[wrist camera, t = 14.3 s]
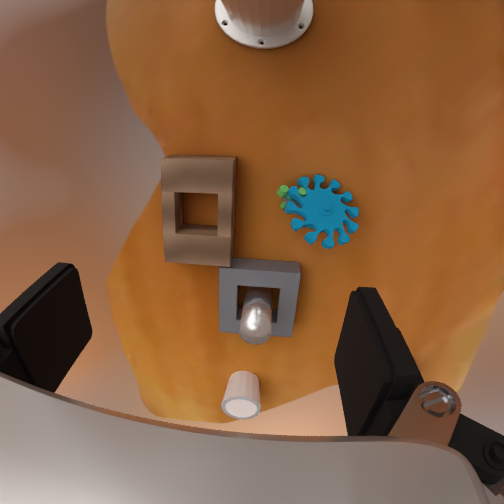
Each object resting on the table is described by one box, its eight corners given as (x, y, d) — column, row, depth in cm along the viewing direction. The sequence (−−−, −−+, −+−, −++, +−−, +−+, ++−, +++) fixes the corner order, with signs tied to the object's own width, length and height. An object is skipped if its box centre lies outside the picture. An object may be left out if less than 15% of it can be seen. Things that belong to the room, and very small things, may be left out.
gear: (370, 198, 40) (347, 260, 36) (350, 217, 45) (327, 273, 41) (299, 154, 39) (265, 211, 36) (286, 178, 45) (254, 231, 41)
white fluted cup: (269, 385, 56) (268, 413, 50) (239, 396, 58) (236, 423, 52) (249, 363, 54) (246, 392, 48) (218, 375, 56) (213, 403, 50)
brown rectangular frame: (170, 155, 40) (161, 158, 37) (236, 156, 40) (233, 160, 36) (173, 250, 46) (165, 261, 42) (233, 254, 46) (229, 266, 42)
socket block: (222, 256, 46) (219, 267, 43) (298, 262, 46) (300, 273, 42) (222, 318, 50) (219, 331, 47) (290, 323, 50) (291, 336, 47)
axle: (246, 279, 47) (239, 318, 38) (272, 281, 47) (272, 320, 38) (244, 301, 49) (238, 343, 40) (270, 303, 49) (269, 345, 40)
